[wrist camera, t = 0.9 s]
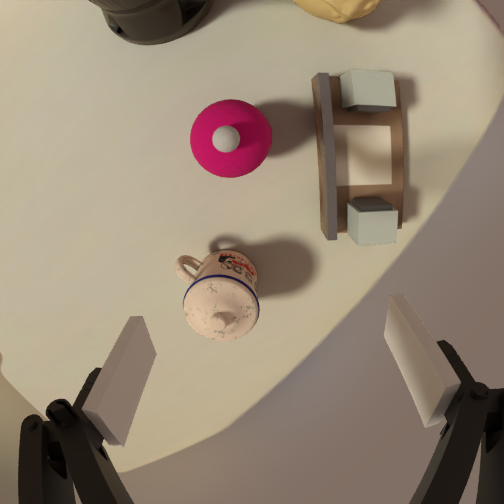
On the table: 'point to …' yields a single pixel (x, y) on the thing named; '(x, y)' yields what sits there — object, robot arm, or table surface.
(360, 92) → the block
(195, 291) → the teacup with lid
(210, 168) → the pepper mill
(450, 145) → the table surface
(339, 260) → the table surface
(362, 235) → the finger block
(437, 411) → the robot arm
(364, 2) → the sculpture
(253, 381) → the table surface
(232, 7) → the table surface
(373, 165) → the wooden frame tray
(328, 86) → the steel rail bar
